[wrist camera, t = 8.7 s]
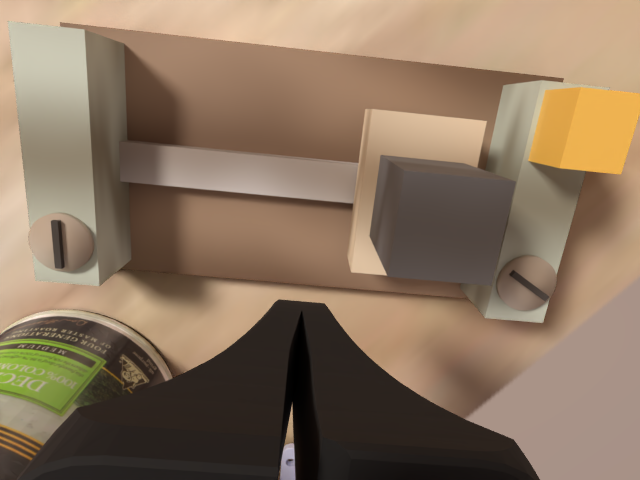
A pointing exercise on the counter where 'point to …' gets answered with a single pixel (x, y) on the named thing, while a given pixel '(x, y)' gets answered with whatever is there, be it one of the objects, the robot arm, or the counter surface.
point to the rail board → (255, 160)
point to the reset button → (585, 129)
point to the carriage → (426, 200)
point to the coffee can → (64, 375)
